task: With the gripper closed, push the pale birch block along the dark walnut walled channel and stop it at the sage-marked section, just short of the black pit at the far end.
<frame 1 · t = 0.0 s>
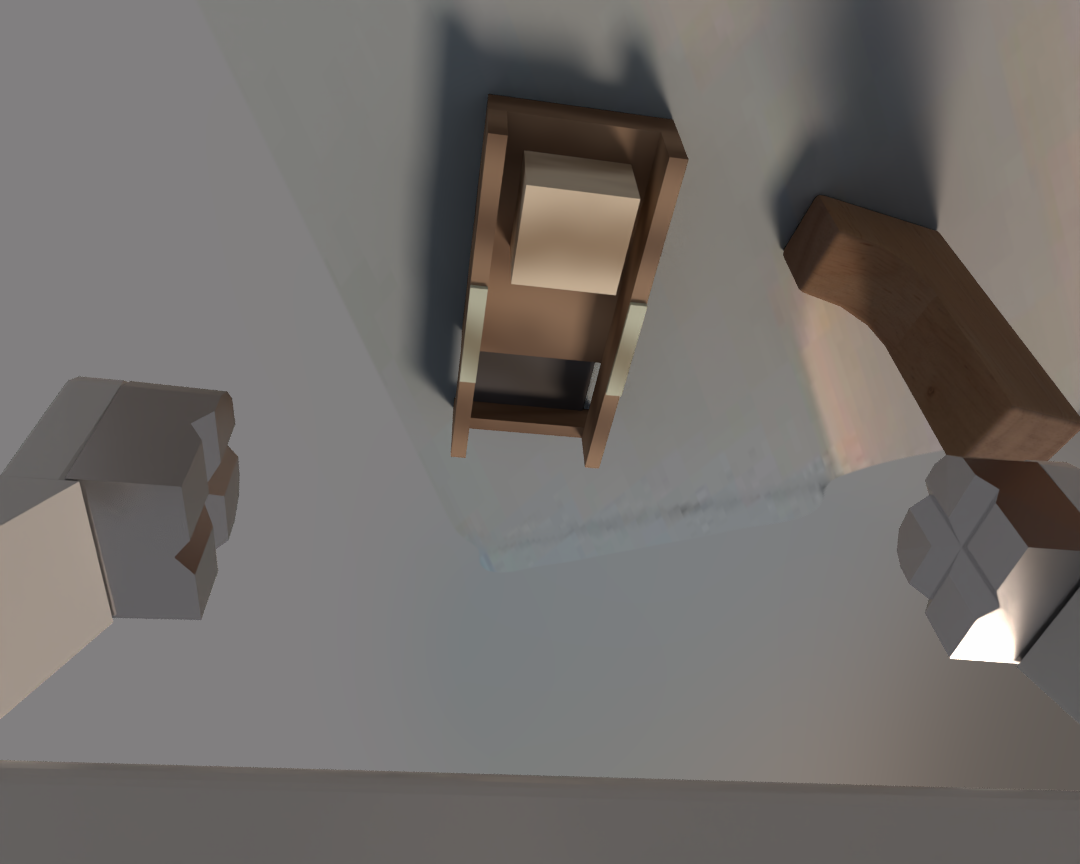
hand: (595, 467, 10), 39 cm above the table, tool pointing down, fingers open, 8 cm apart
birch block: (568, 206, 48), point 2 cm above the table, touching walled channel
wooden block: (858, 240, 53), on the table
walled channel: (552, 262, 52), on the table
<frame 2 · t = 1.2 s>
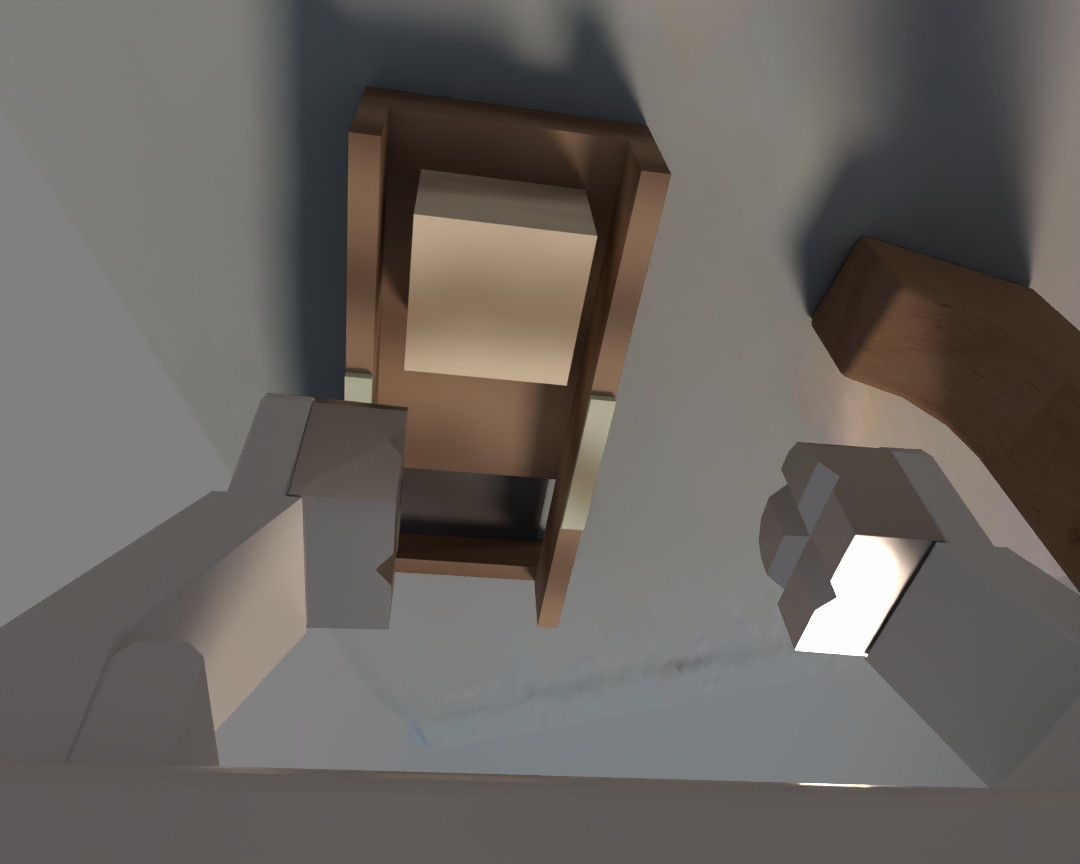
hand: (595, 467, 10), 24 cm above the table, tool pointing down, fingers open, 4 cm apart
birch block: (494, 255, 32), point 2 cm above the table, touching walled channel
wooden block: (917, 302, 37), on the table
walled channel: (480, 339, 36), on the table
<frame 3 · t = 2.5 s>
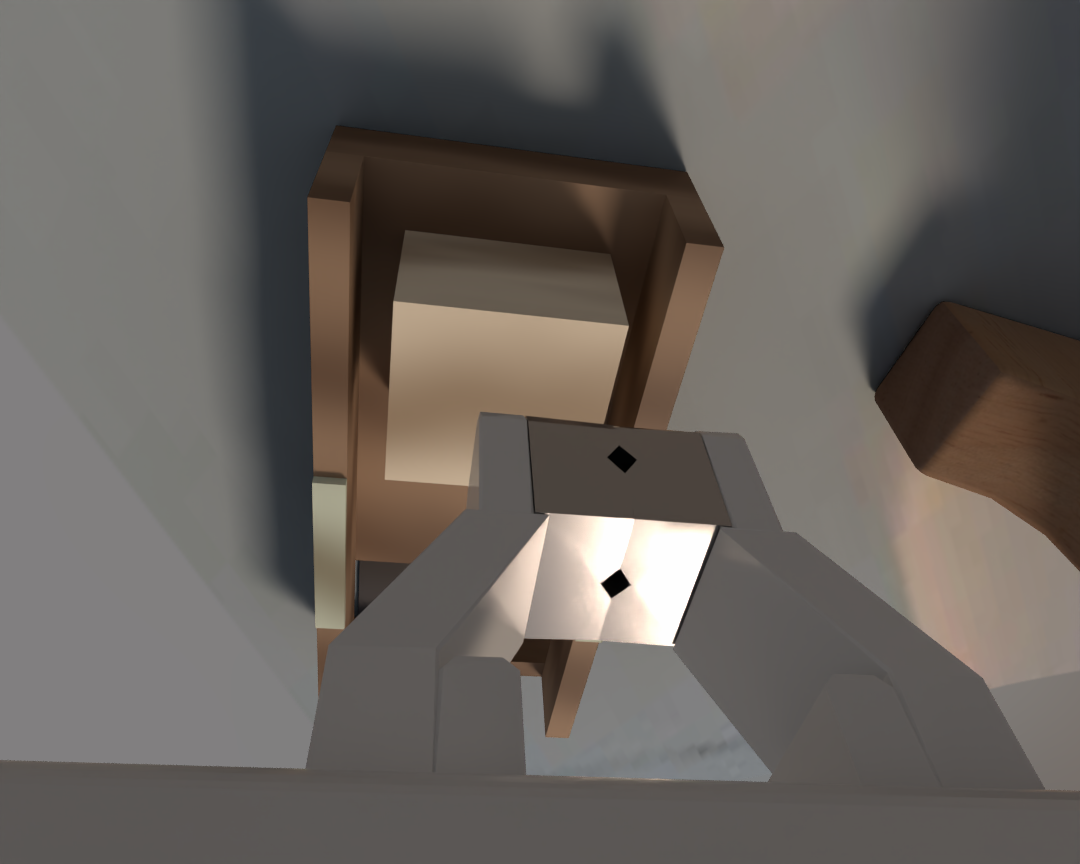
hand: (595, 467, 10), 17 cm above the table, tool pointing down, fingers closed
birch block: (497, 330, 26), point 2 cm above the table, touching walled channel
wooden block: (1000, 372, 31), on the table
walled channel: (480, 416, 31), on the table
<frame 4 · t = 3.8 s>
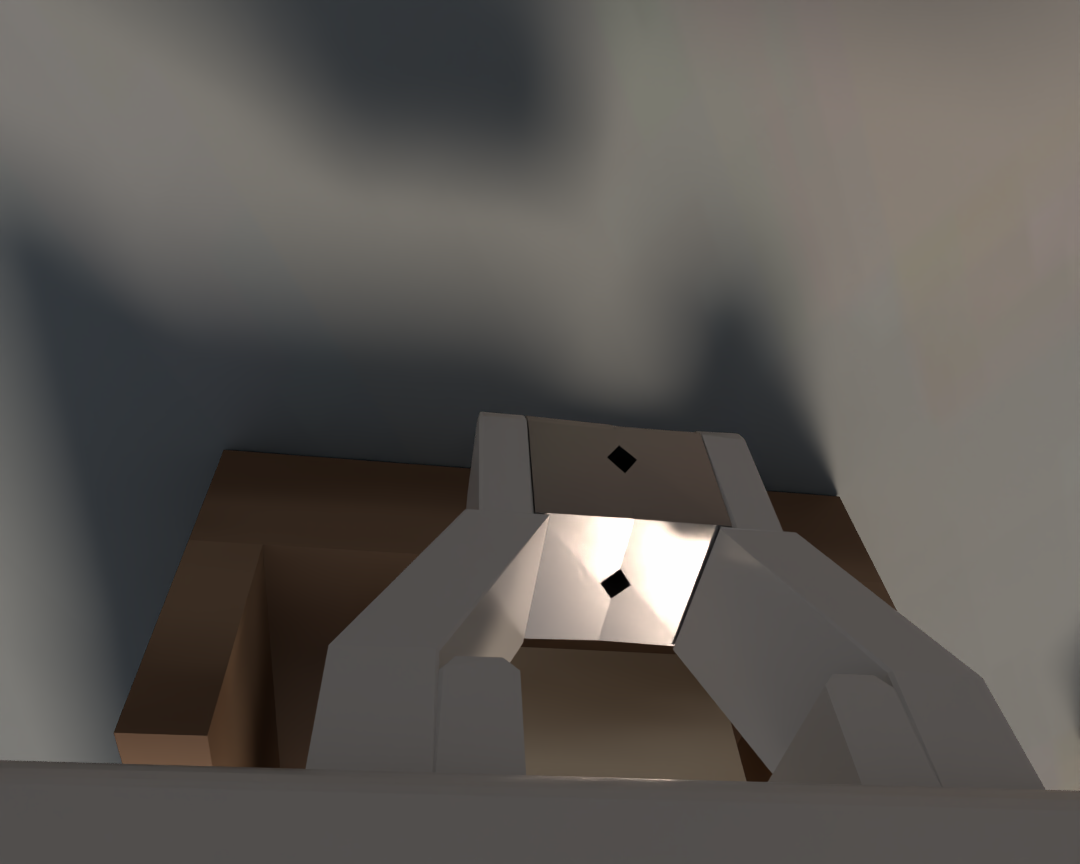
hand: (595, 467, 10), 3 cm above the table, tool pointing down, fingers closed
birch block: (512, 750, 15), point 2 cm above the table, touching walled channel
walled channel: (483, 789, 20), on the table
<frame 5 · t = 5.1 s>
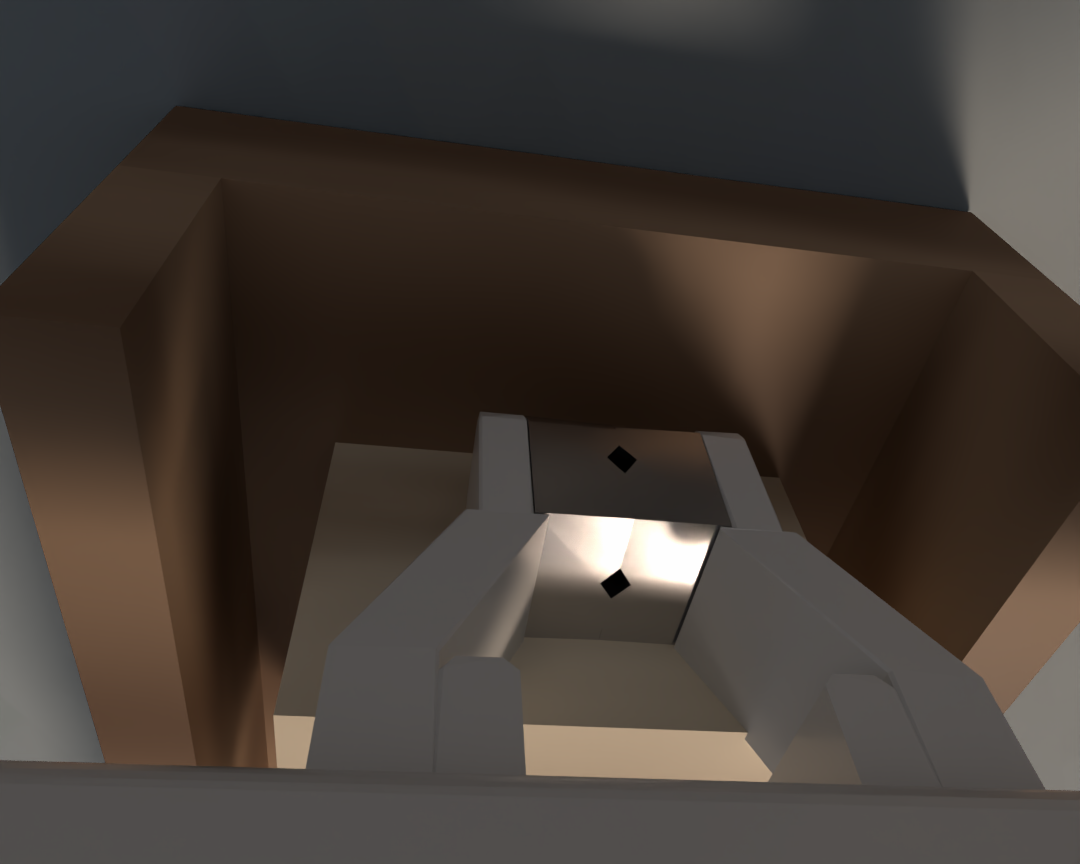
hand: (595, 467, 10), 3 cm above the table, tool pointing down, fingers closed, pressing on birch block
birch block: (533, 610, 13), point 2 cm above the table, touching gripper, walled channel
walled channel: (502, 652, 17), on the table
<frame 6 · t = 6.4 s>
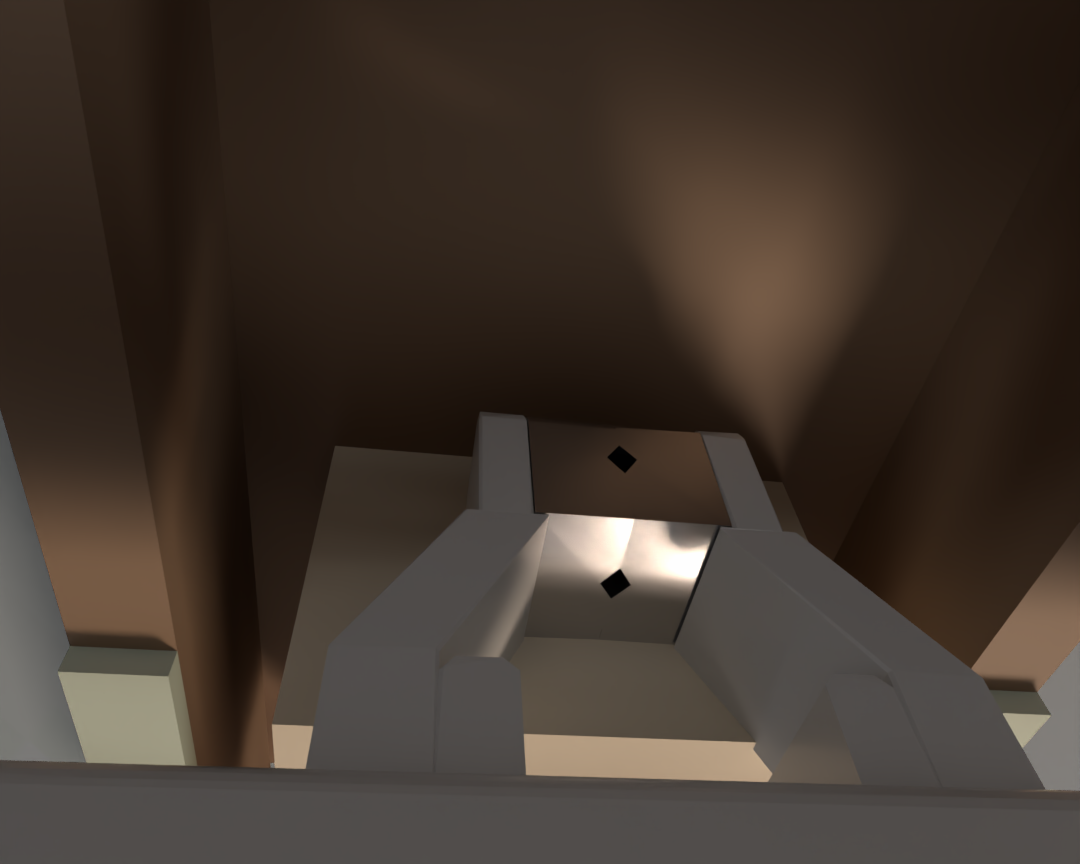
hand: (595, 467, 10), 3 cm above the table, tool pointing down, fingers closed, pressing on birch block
birch block: (533, 614, 13), point 2 cm above the table, touching gripper, walled channel
walled channel: (547, 449, 13), on the table
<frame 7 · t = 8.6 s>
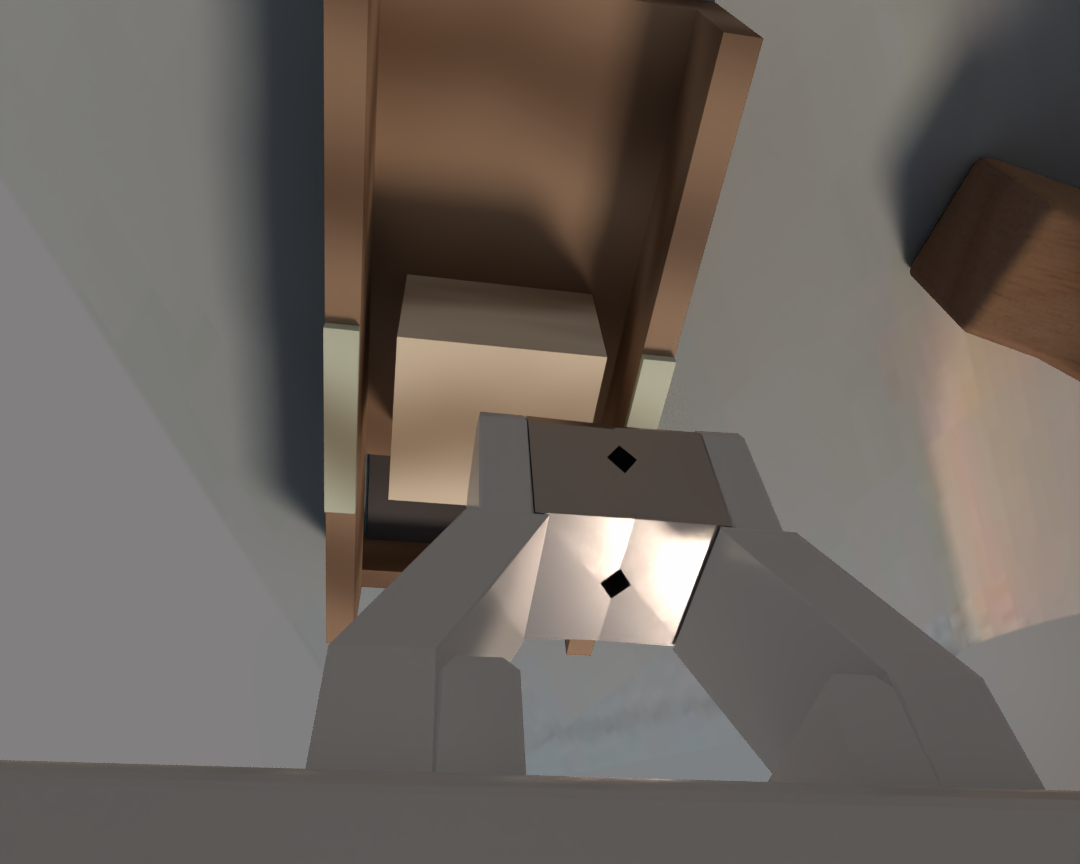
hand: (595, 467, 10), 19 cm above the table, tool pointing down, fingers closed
birch block: (490, 363, 28), point 2 cm above the table, touching walled channel
wooden block: (1040, 246, 30), on the table
walled channel: (497, 294, 29), on the table
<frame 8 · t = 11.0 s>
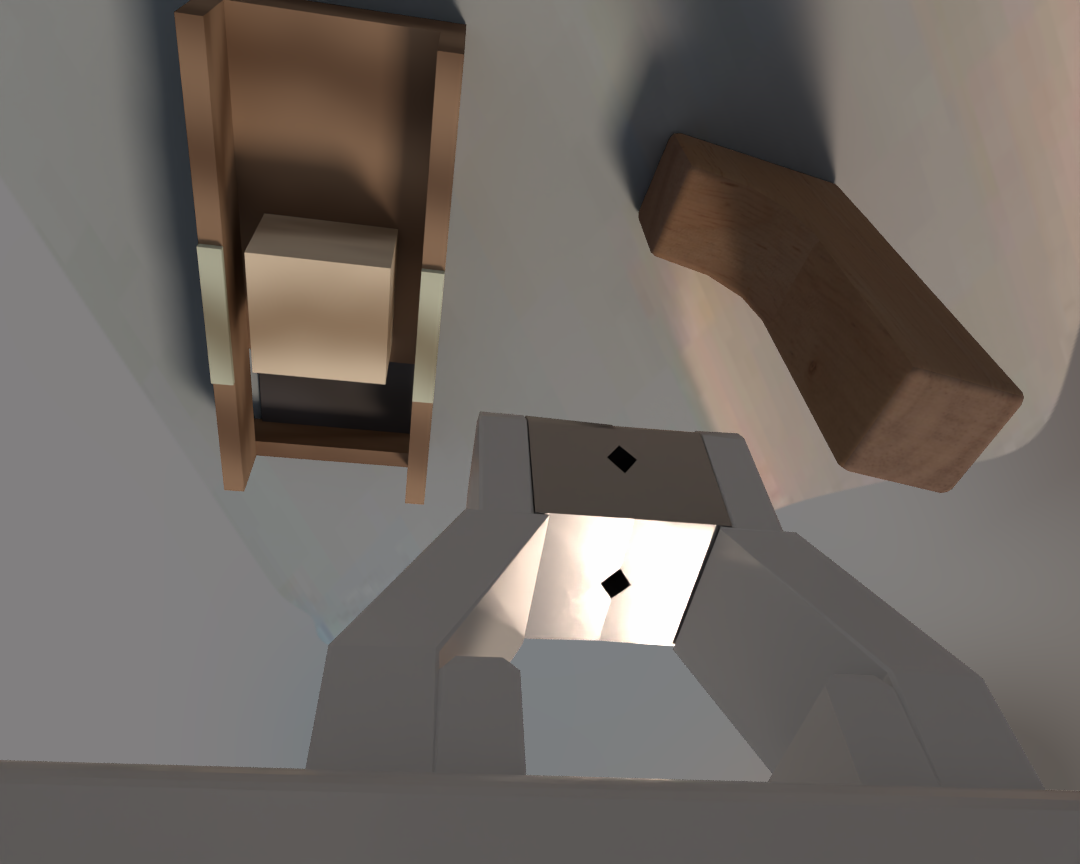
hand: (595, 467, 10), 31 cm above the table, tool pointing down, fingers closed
birch block: (332, 280, 40), point 2 cm above the table, touching walled channel
wooden block: (735, 198, 41), on the table
walled channel: (339, 230, 40), on the table
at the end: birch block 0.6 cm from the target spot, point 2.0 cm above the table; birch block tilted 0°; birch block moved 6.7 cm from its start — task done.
